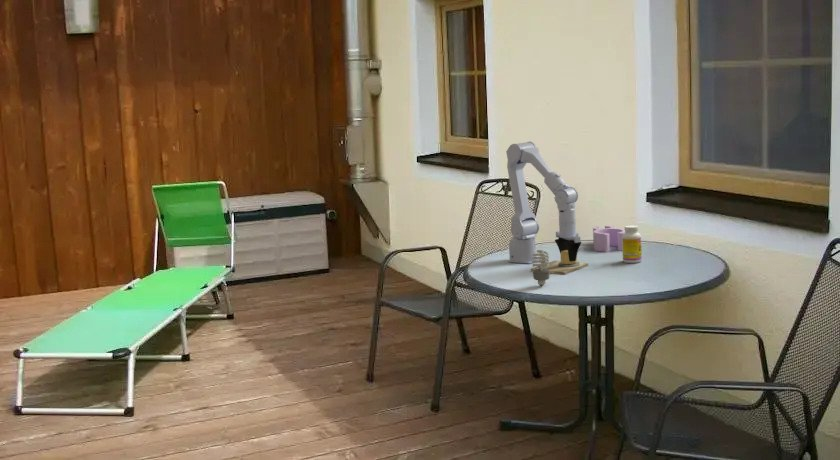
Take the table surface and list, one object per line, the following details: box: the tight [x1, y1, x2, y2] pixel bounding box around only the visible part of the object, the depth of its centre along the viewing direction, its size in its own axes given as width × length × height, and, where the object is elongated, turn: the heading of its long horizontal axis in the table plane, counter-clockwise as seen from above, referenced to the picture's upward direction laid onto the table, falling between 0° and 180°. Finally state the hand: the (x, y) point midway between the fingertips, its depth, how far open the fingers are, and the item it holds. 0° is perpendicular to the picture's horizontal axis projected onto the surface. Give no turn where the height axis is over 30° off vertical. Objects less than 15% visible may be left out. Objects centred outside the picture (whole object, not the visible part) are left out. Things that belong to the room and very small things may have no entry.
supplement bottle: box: [622, 224, 643, 264], centre depth 345 cm, size 7×7×13 cm
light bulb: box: [532, 249, 550, 287], centre depth 316 cm, size 6×6×12 cm
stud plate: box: [530, 260, 589, 275], centre depth 342 cm, size 14×16×3 cm
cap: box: [559, 250, 578, 264], centre depth 343 cm, size 5×5×4 cm
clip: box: [592, 225, 625, 253], centre depth 376 cm, size 20×12×7 cm, turn 4°
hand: (568, 259), depth 343 cm, fingers closed on cap, 5 cm apart
